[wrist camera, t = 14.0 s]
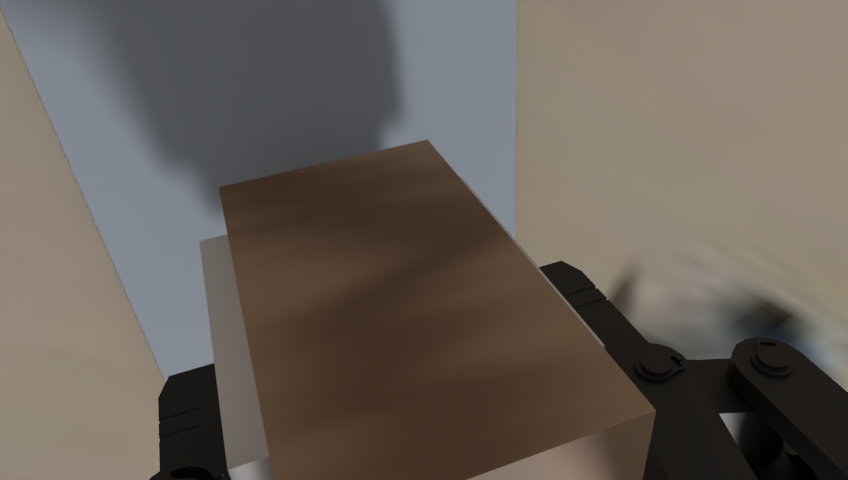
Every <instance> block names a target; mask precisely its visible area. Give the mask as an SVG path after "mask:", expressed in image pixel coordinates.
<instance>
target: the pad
mask: <svg viewBox="0 0 848 480" xmlns="http://www.w3.org/2000/svg"><path fill="white" fill-rule="evenodd" d="M0 7H1V9H2V11H3V13H4V16H5V18H6V20H7V23H8V25H9V27H10V29H11V32H12V34H13V36H14V38H15V41H16V43H17V45H18V48H19V50H20V52H21V54H22V57H23V59H24V61H25V64H26V66H27V68H28V70H29V73H30V75H31V77H32V79H33V82H34V84H35V86H36V89H37V91H38V93H39V95H40V98H41V100H42V102H43V104H44V107H45V109H46V111H47V114H48V116H49V118H50V120H51V123H52V125H53V127H54V130H55V132H56V134H57V136H58V139H59V141H60V143H61V145H62V148H63V150H64V152H65V155H66V157H67V159H68V161H69V164H70V166H71V168H72V171H73V173H74V175H75V177H76V180H77V182H78V184H79V186H80V189H81V191H82V193H83V196H84V198H85V200H86V202H87V205H88V207H89V209H90V212H91V214H92V216H93V218H94V221H95V223H96V225H97V227H98V230H99V232H100V234H101V237H102V239H103V241H104V243H105V246H106V248H107V250H108V253H109V255H110V257H111V259H112V262H113V264H114V266H115V268H116V271H117V273H118V275H119V278H120V280H121V282H122V284H123V287H124V289H125V291H126V294H127V296H128V298H129V300H130V303H131V305H132V307H133V309H134V312H135V314H136V316H137V319H138V321H139V323H140V325H141V328H142V330H143V332H144V334H145V337H146V339H147V341H148V344H149V346H150V348H151V350H152V353H153V355H154V357H155V360H156V362H157V364H158V366H159V369H160V371H161V373H162V375H163V378H164V380H165V382H166V381H167V379H168V377H169V376H171V375H174V374H178V373H181V372H185V371H188V370H192V369H195V368H198V367H202V366H205V365H209V364H212V363H214V356H213V348H212V340H211V332H210V324H209V316H208V308H207V300H206V291H205V283H204V275H203V267H202V259H201V251H200V243H199V241H202V240H206V239H210V238H214V237H218V236H222V235H226V234H227V229H226V224H225V218H224V213H223V208H222V202H221V197H220V192H219V187H222V186H226V185H231V184H235V183H239V182H244V181H248V180H252V179H257V178H261V177H266V176H270V175H274V174H279V173H283V172H287V171H292V170H296V169H301V168H305V167H309V166H314V165H318V164H323V163H327V162H331V161H336V160H340V159H344V158H349V157H353V156H358V155H362V154H366V153H371V152H375V151H379V150H384V149H388V148H393V147H397V146H401V145H406V144H410V143H414V142H419V141H423V140H429V142H430V143H431V144H432V145H433V146H434V148H435V149H436V150H437V151H438V152H439V154H440V155H441V156H442V157H443V158H444V159H445V161H446V162H447V163H448V164H449V165H450V167H451V168H452V169H453V170H454V171H455V172H456V174H457V175H458V176H459V177H462V178H463V179H464V180H465V181H466V182H467V184H468V185H469V186H470V187H471V188H472V189H473V191H474V192H475V193H476V194H477V195H478V197H479V198H480V199H481V200H482V201H483V202H484V204H485V205H486V206H487V207H488V208H489V210H490V211H491V212H492V213H493V214H494V215H495V217H496V218H497V219H498V220H499V221H500V222H501V224H502V225H503V226H504V227H505V228H506V230H507V231H508V232H509V233H510V234H511V235H512V237H513V238H514V239H515V169H516V68H517V0H0Z"/></svg>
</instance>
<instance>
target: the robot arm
mask: <svg viewBox="0 0 848 480" xmlns="http://www.w3.org/2000/svg"><path fill="white" fill-rule="evenodd" d="M460 178H461V180H462V181H463V182H464V183H465V184H466V185H467V187H468V188H469V189H470V190H471V191H472V193H473V194H474V195H475V196H476V197H477V199H478V200H479V201H480V202H481V203H482V204H483V206H484V207H485V208H486V209H487V210H488V212H489V213H490V214H491V215H492V216H493V217H494V219H495V220H496V221H497V222H498V223H499V225H500V226H501V227H502V228H503V229H504V231H505V232H506V233H507V234H508V235H509V236H510V238H511V239H512V240H513V241H514V242H515V244H516V245H517V246H518V247H519V248H520V249H521V251H522V252H523V253H524V254H525V255H526V257H527V258H528V259H529V260H530V261H531V263H532V264H533V265H534V266H535V267H536V268H537V270H538V271H539V272H540V273H541V274H542V276H543V277H544V278H545V279H546V280H547V281H548V283H549V284H550V285H551V286H552V287H553V289H554V290H555V291H556V292H557V293H558V295H559V296H560V297H561V298H562V299H563V300H564V302H565V303H566V304H567V305H568V306H569V308H570V309H571V310H572V311H573V312H574V313H575V315H576V316H577V317H578V318H579V319H580V321H581V322H582V323H583V324H584V325H585V327H586V328H587V329H588V330H589V331H590V332H591V334H592V335H593V336H594V337H595V338H596V340H597V341H598V342H599V343H600V344H601V345H602V347H603V348H604V349H605V350H606V351H607V353H608V354H609V355H610V356H611V357H612V359H613V360H614V361H615V362H616V363H617V364H618V366H619V367H620V368H621V369H622V370H623V372H624V373H625V374H626V375H627V376H628V377H629V379H630V380H631V381H632V382H633V383H634V385H635V386H636V387H637V388H638V389H639V390H640V392H641V393H642V394H643V395H644V396H645V398H646V399H647V400H648V401H649V402H650V404H651V405H652V406H653V407H654V408H655V409H656V415H655V420H654V425H653V430H652V435H651V440H650V445H649V449H648V454H647V459H646V464H645V469H644V474H643V479H642V480H848V392H846V391H845V390H844V389H843V388H842V387H841V386H839V385H838V384H837V383H836V382H835V381H834V380H832V379H831V378H830V377H829V376H828V375H827V374H825V373H824V372H823V371H822V370H821V369H819V368H818V367H817V366H816V365H815V364H814V363H812V362H811V361H810V360H809V359H808V358H807V357H805V356H804V355H803V354H802V353H801V352H799V351H798V350H796V349H795V348H793V347H791V346H790V345H788V344H786V343H783V342H780V341H778V340H775V339H769V338H761V337H757V338H750V339H745V340H743V341H742V342H740V343H738V344H737V345H736V347H735V348H734V350H733V352H732V356H731V359H709V360H686V359H685V358H684V357H683V355H681V354H680V353H678V352H676V351H675V350H673V349H671V348H669V347H666V346H662V345H659V344H650V343H648V342H647V341H646V340H645V339H644V338H643V336H642V335H641V334H640V333H639V332H638V331H637V330H636V329H635V328H634V327H633V326H632V325H631V324H630V323H629V321H628V320H627V319H626V318H625V317H624V316H623V315H622V314H621V313H620V312H619V311H618V310H617V309H616V308H615V306H614V305H613V304H612V303H611V302H610V301H609V300H608V301H607V300H606V297H605V296H604V295H603V294H602V293H601V291H600V290H599V289H598V288H597V289H596V288H595V285H594V284H593V283H592V282H591V281H590V280H589V279H588V278H587V276H586V275H585V274H584V273H583V272H582V271H580V270H578V269H576V268H574V267H573V266H571V265H569V264H567V263H565V262H563V261H559V262H556V263H552V264H549V265H545V266H542V267H538V266H537V265H536V264H535V263H534V261H533V260H532V259H531V258H530V257H529V255H528V254H527V253H526V252H525V251H524V250H523V248H522V247H521V246H520V245H519V244H518V243H517V241H516V240H515V239H514V238H513V237H512V235H511V234H510V233H509V232H508V231H507V230H506V228H505V227H504V226H503V225H502V224H501V222H500V221H499V220H498V219H497V218H496V217H495V215H494V214H493V213H492V212H491V211H490V210H489V208H488V207H487V206H486V205H485V204H484V202H483V201H482V200H481V199H480V198H479V197H478V195H477V194H476V193H475V192H474V191H473V189H472V188H471V187H470V186H469V185H468V184H467V182H466V181H465V180H464V179H463V178H462V177H460ZM199 243H200V251H201V259H202V267H203V275H204V283H205V291H206V300H207V308H208V316H209V324H210V332H211V340H212V348H213V356H214V363H212V364H209V365H205V366H202V367H198V368H195V369H192V370H188V371H185V372H181V373H178V374H174V375H171V376H169V377H168V379H167V381H166V383H165V385H164V388H163V390H162V392H161V394H160V396H159V398H158V401H159V422H160V424H159V438H160V442H159V448H160V472H158V473H157V474H156V475H154V476H153V477H151V479H150V480H274V479H273V474H272V468H271V463H270V458H269V453H268V447H267V442H266V437H265V431H264V426H263V421H262V415H261V410H260V405H259V399H258V394H257V389H256V383H255V378H254V373H253V367H252V362H251V357H250V351H249V346H248V341H247V335H246V330H245V325H244V319H243V314H242V309H241V304H240V298H239V293H238V288H237V282H236V277H235V272H234V266H233V261H232V256H231V250H230V245H229V240H228V234H226V235H222V236H218V237H214V238H210V239H206V240H202V241H199Z"/></svg>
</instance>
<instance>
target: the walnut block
mask: <svg viewBox="0 0 848 480" xmlns="http://www.w3.org/2000/svg"><path fill="white" fill-rule="evenodd" d="M219 192H220V197H221V202H222V208H223V213H224V218H225V224H226V229H227V234H228V240H229V245H230V250H231V256H232V261H233V266H234V272H235V277H236V282H237V288H238V293H239V298H240V304H241V309H242V314H243V319H244V325H245V330H246V335H247V341H248V346H249V351H250V357H251V362H252V367H253V373H254V378H255V383H256V389H257V394H258V399H259V405H260V410H261V415H262V421H263V426H264V431H265V437H266V442H267V447H268V453H269V458H270V463H271V468H272V474H273V479H274V480H642V479H643V474H644V469H645V464H646V459H647V454H648V449H649V445H650V440H651V435H652V430H653V425H654V420H655V415H656V409H655V408H654V407H653V406H652V405H651V404H650V402H649V401H648V400H647V399H646V398H645V396H644V395H643V394H642V393H641V392H640V390H639V389H638V388H637V387H636V386H635V385H634V383H633V382H632V381H631V380H630V379H629V377H628V376H627V375H626V374H625V373H624V372H623V370H622V369H621V368H620V367H619V366H618V364H617V363H616V362H615V361H614V360H613V359H612V357H611V356H610V355H609V354H608V353H607V351H606V350H605V349H604V348H603V347H602V345H601V344H600V343H599V342H598V341H597V340H596V338H595V337H594V336H593V335H592V334H591V332H590V331H589V330H588V329H587V328H586V327H585V325H584V324H583V323H582V322H581V321H580V319H579V318H578V317H577V316H576V315H575V313H574V312H573V311H572V310H571V309H570V308H569V306H568V305H567V304H566V303H565V302H564V300H563V299H562V298H561V297H560V296H559V295H558V293H557V292H556V291H555V290H554V289H553V287H552V286H551V285H550V284H549V283H548V281H547V280H546V279H545V278H544V277H543V276H542V274H541V273H540V272H539V271H538V270H537V268H536V267H535V266H534V265H533V264H532V263H531V261H530V260H529V259H528V258H527V257H526V255H525V254H524V253H523V252H522V251H521V249H520V248H519V247H518V246H517V245H516V244H515V242H514V241H513V240H512V239H511V238H510V236H509V235H508V234H507V233H506V232H505V231H504V229H503V228H502V227H501V226H500V225H499V223H498V222H497V221H496V220H495V219H494V217H493V216H492V215H491V214H490V213H489V212H488V210H487V209H486V208H485V207H484V206H483V204H482V203H481V202H480V201H479V200H478V199H477V197H476V196H475V195H474V194H473V193H472V191H471V190H470V189H469V188H468V187H467V185H466V184H465V183H464V182H463V181H462V180H461V178H460V177H459V176H458V175H457V174H456V172H455V171H454V170H453V169H452V168H451V167H450V165H449V164H448V163H447V162H446V161H445V159H444V158H443V157H442V156H441V155H440V154H439V152H438V151H437V150H436V149H435V148H434V146H433V145H432V144H431V143H430V142H429V140H423V141H419V142H414V143H410V144H406V145H401V146H397V147H393V148H388V149H384V150H379V151H375V152H371V153H366V154H362V155H358V156H353V157H349V158H344V159H340V160H336V161H331V162H327V163H323V164H318V165H314V166H309V167H305V168H301V169H296V170H292V171H287V172H283V173H279V174H274V175H270V176H266V177H261V178H257V179H252V180H248V181H244V182H239V183H235V184H231V185H226V186H222V187H219Z"/></svg>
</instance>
